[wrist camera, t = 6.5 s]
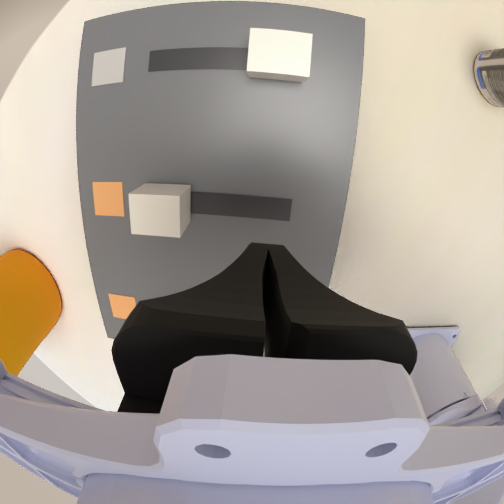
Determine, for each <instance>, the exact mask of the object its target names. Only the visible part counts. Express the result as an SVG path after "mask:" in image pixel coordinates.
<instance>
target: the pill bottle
mask: <svg viewBox="0 0 504 504" xmlns="http://www.w3.org/2000/svg"><path fill="white" fill-rule="evenodd" d="M474 73H475V79H476V82H477V85H478V87H479V90H480V91H481V93H482V95H483V96H484V97H485V98H486V100H488V101H489V102H490V103H491V104H493V105H495V106H498V107H504V49H495V50H488V51H483V52H481V53H479V54H478V56H477V58H476V60H475V65H474Z"/></svg>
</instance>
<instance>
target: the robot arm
mask: <svg viewBox="0 0 504 504" xmlns="http://www.w3.org/2000/svg"><path fill="white" fill-rule="evenodd" d="M459 333H460V328H459V327H433V328H407V327H406V325H405V324H404V322H403V321H402V320H399V319H396V318H392V317H389V316H386V315H383V314H379V313H376V312H374V311H371V310H369V309H367V308H364V307H362V306H359V305H357V304H355V303H353V302H351V301H349V300H347V299H346V298H344V297H342V296H340V295H338V294H337V293H335V292H334V291H332V290H331V289H329V288H328V287H326V286H325V285H324V284H322V283H321V282H319V281H318V280H317V279H316V278H315V277H313V276H312V275H311V274H310V273H309V272H308V271H307V270H306V269H305V268H304V267H303V266H302V265H301V264H300V263H299V262H298V261H297V260H296V259H295V258H294V257H293V256H292V254H291V253H290V252H289V251H288V250H287V248H286V247H285V246H284V245H277V244H266V243H254V242H251V243H250V244H249V245H248V246H247V248H246V249H245V250H244V251H243V253H242V254H241V255H240V256H239V257H238V258H237V259H236V260H235V261H234V262H233V263H232V264H230V265H229V266H228V267H227V268H226V269H224V270H223V271H222V272H221V273H219V274H218V275H216V276H214V277H213V278H211V279H209V280H208V281H205V282H203V283H201V284H199V285H197V286H195V287H192V288H190V289H187V290H184V291H182V292H178V293H175V294H172V295H168V296H163V297H158V298H153V299H147V300H141V301H139V302H138V304H137V305H136V306H135V308H134V309H133V310H132V311H131V313H130V314H129V316H128V317H127V319H126V320H125V322H124V324H123V326H122V327H121V329H120V331H119V332H118V334H117V336H116V338H115V339H114V342H113V346H112V356H113V361H114V364H115V367H116V370H117V373H118V376H119V378H120V381H121V384H122V386H123V389H124V392H125V395H124V397H123V399H122V402H121V404H120V407H119V409H118V412H112V411H104V410H101V409H98V408H95V407H91V406H88V405H85V404H83V403H79V402H77V401H74V400H71V399H68V398H66V397H63V396H60V395H58V394H55V393H53V392H50V391H48V390H45V389H43V388H41V387H38V386H36V385H34V384H32V383H29V382H27V381H25V380H23V379H21V378H19V377H17V376H15V375H13V374H11V373H9V372H7V370H6V368H5V366H4V364H3V362H2V361H1V359H0V451H1V452H2V453H3V454H5V455H6V456H7V457H9V458H11V459H12V460H13V461H15V462H16V463H18V464H19V465H21V466H22V467H24V468H25V469H27V470H29V471H30V472H32V473H33V474H35V475H37V476H39V477H40V478H42V479H43V480H45V481H47V482H49V483H50V484H52V485H54V486H56V487H58V488H60V489H61V490H63V491H66V492H67V493H69V494H71V495H73V496H75V497H77V498H79V499H78V501H77V504H501V501H502V500H503V498H504V398H503V400H502V401H501V402H500V403H498V401H497V400H496V398H490V397H486V398H485V399H484V400H483V401H484V403H485V405H486V407H487V411H486V409H485V407H484V405H483V403H482V402H481V400H480V398H479V396H478V394H476V392H475V390H474V388H473V386H472V384H471V382H470V381H469V379H468V377H467V375H466V373H465V371H464V370H463V368H462V366H461V364H460V362H459V361H458V359H457V357H456V356H455V354H454V352H453V350H452V349H451V347H452V345H453V344H454V342H455V340H456V338H457V336H458V335H459ZM264 350H265V357H263V352H264Z"/></svg>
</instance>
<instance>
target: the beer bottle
mask: <svg viewBox="0 0 504 504" xmlns="http://www.w3.org/2000/svg"><path fill="white" fill-rule="evenodd" d="M61 306H62V305H61V297H60V293H59V290H58V288H57V285H56V283H55V281H54V279H53V277H52V276H51V274H50V273H49V271H48V270H47V269H46V268H45V266H44V265H43V264H42V263H41V262H40V261H39V260H38V259H37V258H35V257H34V256H33V255H31V254H29V253H28V252H25V251H22V250H12V251H9V252H7V253H5V254H3V255H2V256H0V359H1V361H2V362H3V364H4V366H5V368H6V370H7V372H9V373H11V374H13V375H15V376H17V375H18V374H19V372H20V371H21V369H22V368H23V367H24V365H25V364H26V362H27V361H28V359H29V358H30V357H31V355H32V354H33V353H34V351H35V350H36V348H37V347H38V346H39V345H40V343H41V342H42V341H43V340H44V338H45V337H46V336H47V335H48V334H49V332H50V331H51V330H52V329H53V327H54V326H55V325H56V323H57V321H58V319H59V317H60V314H61Z"/></svg>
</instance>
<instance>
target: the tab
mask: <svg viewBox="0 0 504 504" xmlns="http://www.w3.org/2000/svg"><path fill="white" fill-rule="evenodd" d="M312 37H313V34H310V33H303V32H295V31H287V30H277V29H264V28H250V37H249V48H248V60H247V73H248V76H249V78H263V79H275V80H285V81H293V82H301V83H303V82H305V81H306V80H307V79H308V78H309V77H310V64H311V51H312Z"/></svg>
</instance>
